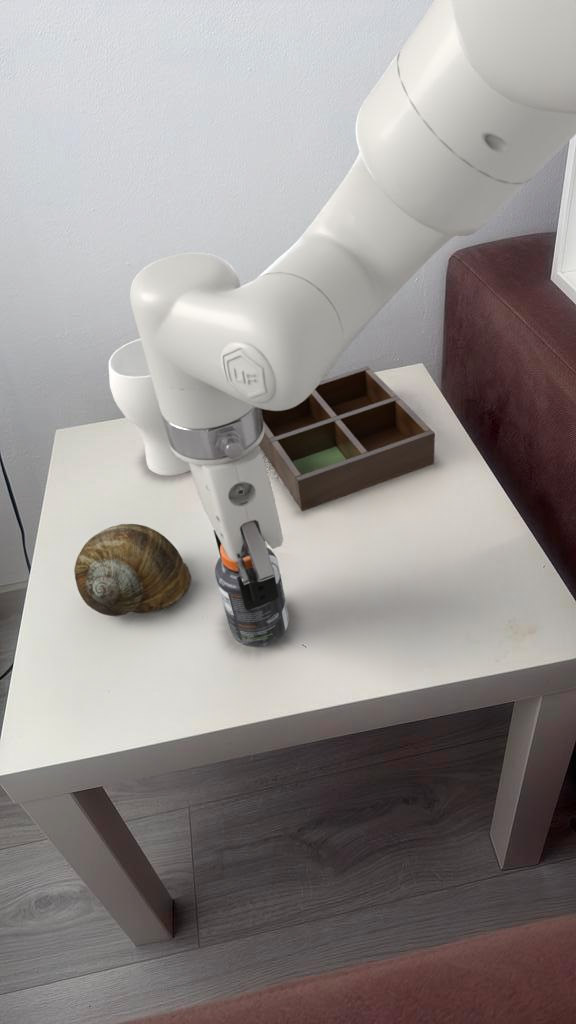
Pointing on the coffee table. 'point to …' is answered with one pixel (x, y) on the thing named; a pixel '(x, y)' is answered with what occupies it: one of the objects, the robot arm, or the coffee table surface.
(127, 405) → the cup
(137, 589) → the seashell
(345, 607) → the coffee table surface
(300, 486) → the compartment tray
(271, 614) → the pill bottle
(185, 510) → the coffee table surface
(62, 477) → the coffee table surface
